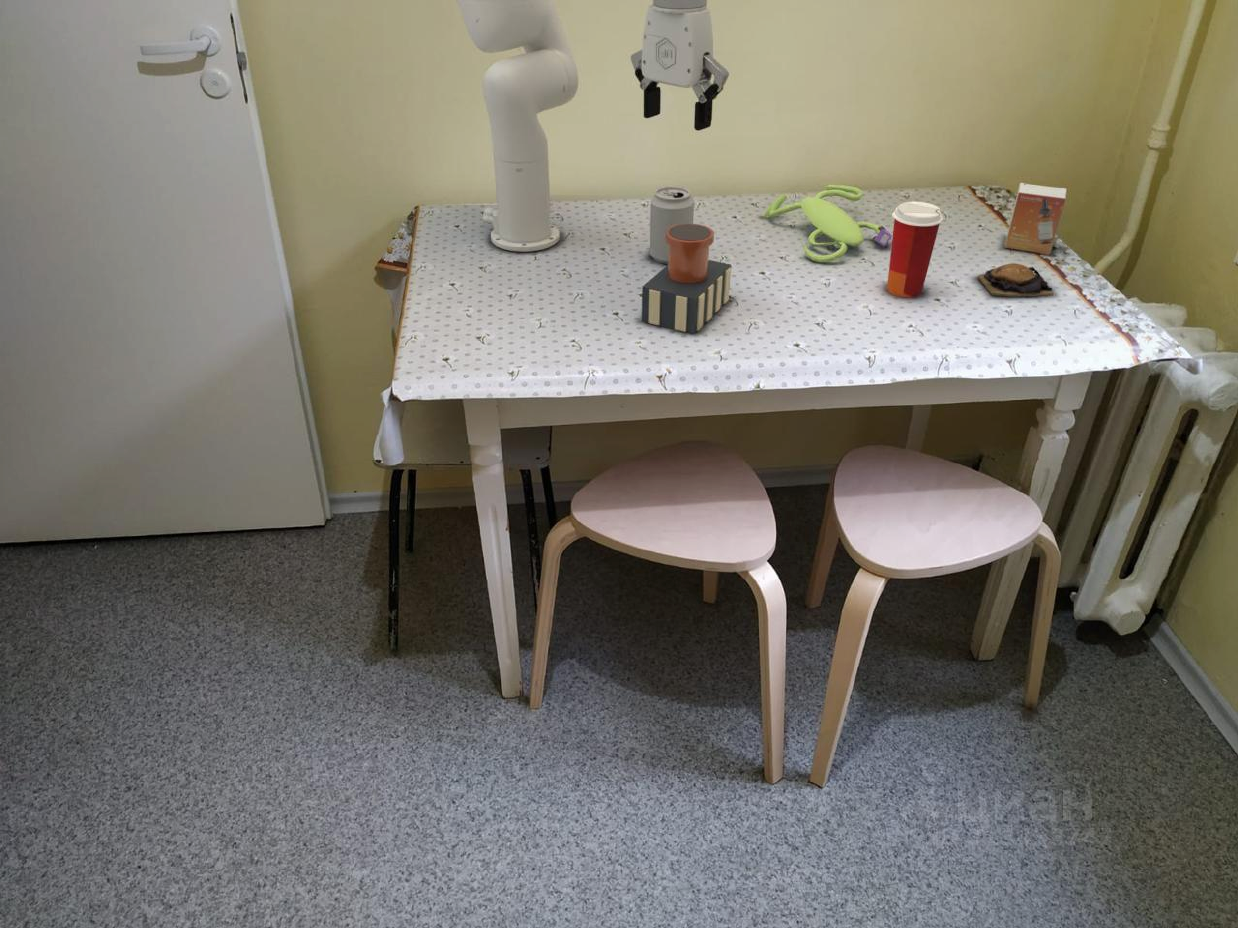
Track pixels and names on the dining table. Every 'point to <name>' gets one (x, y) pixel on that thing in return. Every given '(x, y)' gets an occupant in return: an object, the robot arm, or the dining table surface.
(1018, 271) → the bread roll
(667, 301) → the dark grey striped block
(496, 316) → the dining table surface
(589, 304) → the dining table surface
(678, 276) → the terracotta pot
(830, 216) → the figurine
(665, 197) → the can
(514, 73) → the robot arm
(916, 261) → the paper cup
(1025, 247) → the small box
